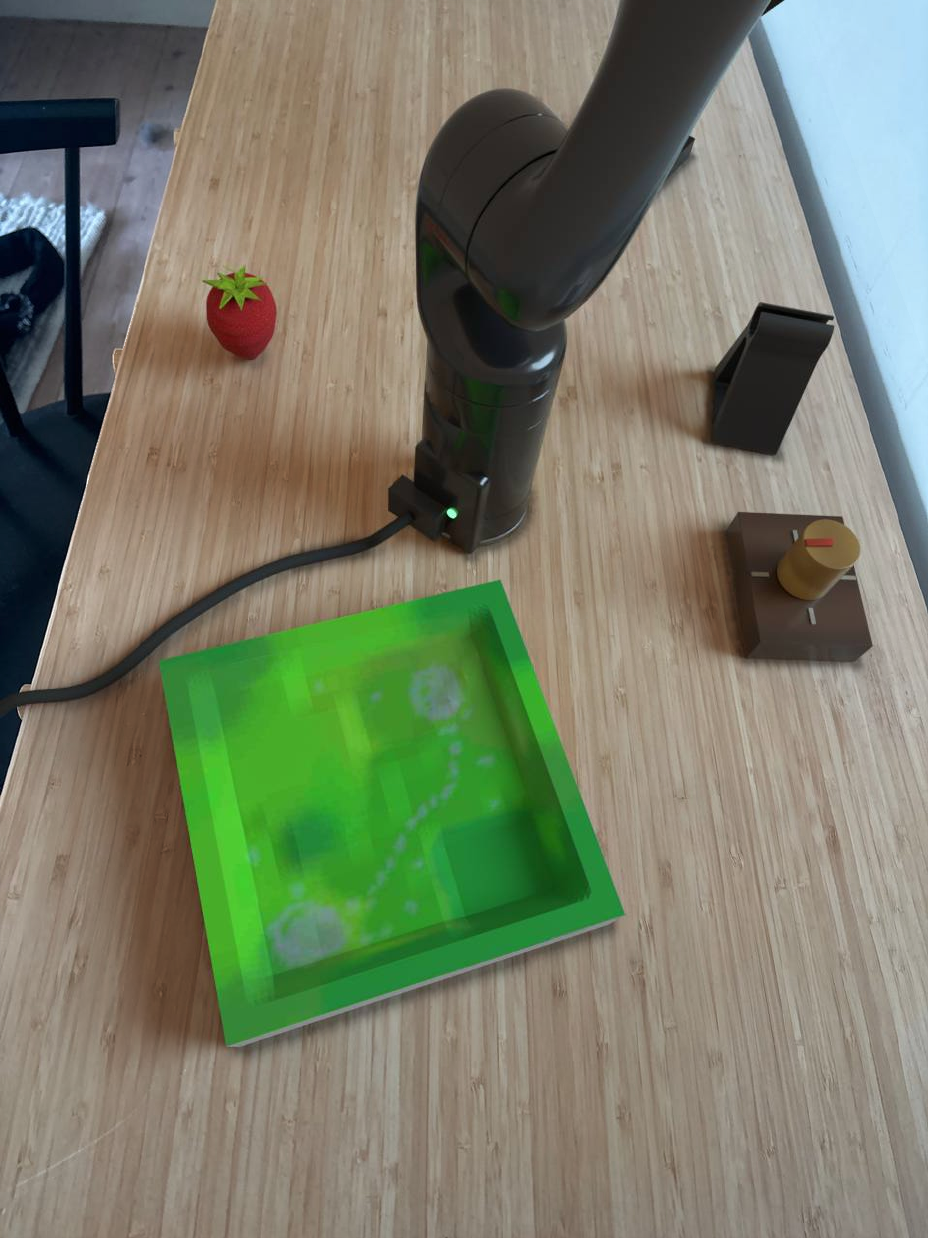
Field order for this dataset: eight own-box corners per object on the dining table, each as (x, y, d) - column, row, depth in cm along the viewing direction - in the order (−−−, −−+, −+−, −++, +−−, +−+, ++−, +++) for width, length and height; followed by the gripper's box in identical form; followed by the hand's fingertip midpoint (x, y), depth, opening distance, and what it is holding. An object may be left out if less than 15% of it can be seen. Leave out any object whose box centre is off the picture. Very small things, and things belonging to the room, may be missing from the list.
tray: (174, 687, 64) (158, 660, 60) (493, 609, 69) (500, 579, 65) (239, 1047, 54) (226, 1046, 50) (607, 925, 59) (625, 914, 55)
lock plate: (854, 661, 70) (874, 645, 67) (745, 658, 69) (761, 641, 66) (826, 535, 75) (843, 515, 72) (725, 530, 74) (738, 510, 72)
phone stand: (774, 456, 79) (835, 362, 68) (709, 444, 79) (760, 348, 68) (775, 382, 83) (833, 282, 72) (714, 370, 83) (762, 268, 72)
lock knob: (822, 552, 71) (853, 516, 66) (836, 599, 69) (869, 566, 64) (770, 553, 70) (798, 517, 65) (783, 601, 68) (813, 567, 63)
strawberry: (215, 388, 77) (192, 301, 68) (219, 325, 80) (198, 235, 71) (282, 388, 78) (268, 302, 69) (284, 326, 81) (271, 236, 72)
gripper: (692, -217, 61) (633, 38, 77) (858, -147, 58) (763, 104, 74) (744, -251, 64) (678, 2, 79) (906, -185, 61) (804, 64, 76)
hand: (719, 51), depth 77 cm, fingers closed
